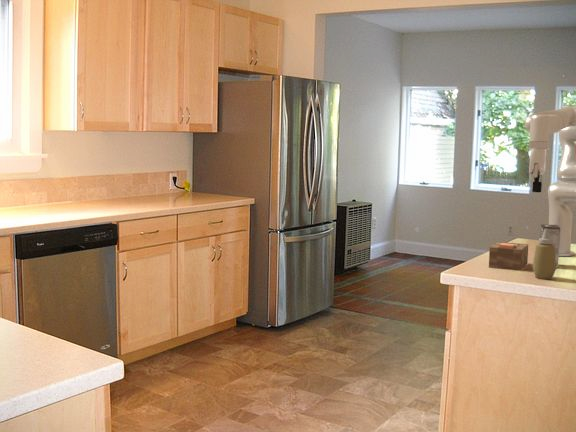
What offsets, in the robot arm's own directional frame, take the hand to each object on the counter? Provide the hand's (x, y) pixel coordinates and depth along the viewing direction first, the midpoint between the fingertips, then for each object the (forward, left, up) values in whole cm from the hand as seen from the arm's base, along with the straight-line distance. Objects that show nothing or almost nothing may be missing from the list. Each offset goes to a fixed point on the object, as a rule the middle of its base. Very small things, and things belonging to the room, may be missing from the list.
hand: (536, 192), depth 288 cm
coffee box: (+1, +6, -29) cm, 30 cm away
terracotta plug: (+14, -8, -26) cm, 30 cm away
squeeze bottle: (+28, +8, -29) cm, 41 cm away
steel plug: (+5, -8, -27) cm, 29 cm away
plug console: (+10, -8, -29) cm, 32 cm away
